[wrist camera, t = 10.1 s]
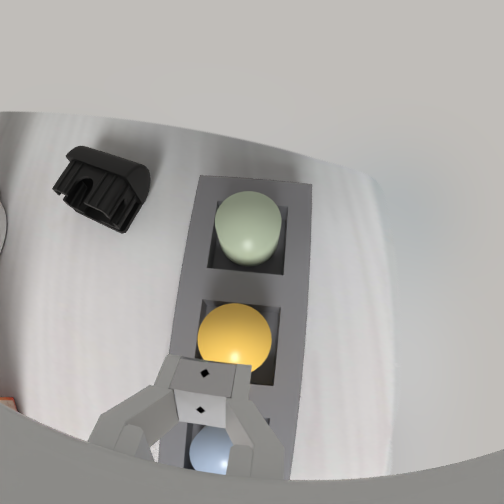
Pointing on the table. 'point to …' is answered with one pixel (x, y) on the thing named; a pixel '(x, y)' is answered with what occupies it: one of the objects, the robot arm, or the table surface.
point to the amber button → (235, 336)
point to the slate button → (211, 450)
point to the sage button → (248, 228)
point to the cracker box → (8, 402)
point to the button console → (251, 294)
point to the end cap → (104, 187)
